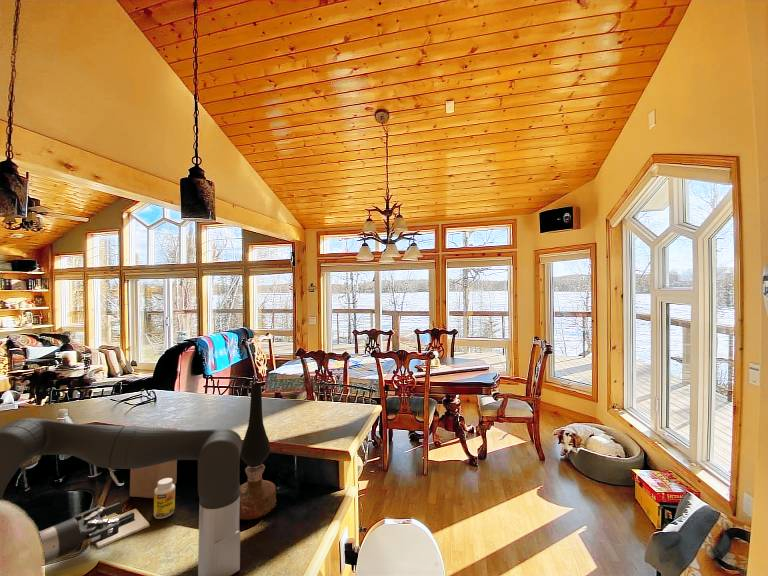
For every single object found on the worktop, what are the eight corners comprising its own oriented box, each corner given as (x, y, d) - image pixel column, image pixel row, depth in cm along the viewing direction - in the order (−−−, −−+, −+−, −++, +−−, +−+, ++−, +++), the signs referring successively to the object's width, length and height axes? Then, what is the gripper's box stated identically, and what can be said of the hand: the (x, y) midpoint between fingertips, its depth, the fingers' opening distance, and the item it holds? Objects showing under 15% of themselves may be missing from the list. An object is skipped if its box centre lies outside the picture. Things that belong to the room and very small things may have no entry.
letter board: (149, 526, 104) (149, 523, 104) (98, 548, 94) (98, 546, 94) (135, 510, 111) (135, 508, 111) (87, 529, 102) (87, 527, 102)
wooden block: (156, 499, 118) (157, 438, 118) (128, 497, 119) (130, 437, 119) (177, 483, 127) (178, 427, 128) (151, 481, 129) (153, 426, 129)
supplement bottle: (153, 522, 106) (154, 487, 106) (153, 512, 110) (154, 479, 111) (175, 515, 109) (175, 482, 109) (174, 506, 113) (174, 474, 114)
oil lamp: (250, 502, 122) (244, 384, 130) (289, 501, 118) (280, 379, 125) (221, 521, 109) (216, 389, 116) (263, 521, 105) (255, 384, 112)
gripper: (61, 538, 84) (138, 505, 97) (44, 517, 92) (117, 489, 105) (60, 570, 84) (138, 533, 97) (43, 547, 92) (117, 515, 105)
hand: (127, 510), depth 101 cm, fingers open, 8 cm apart
